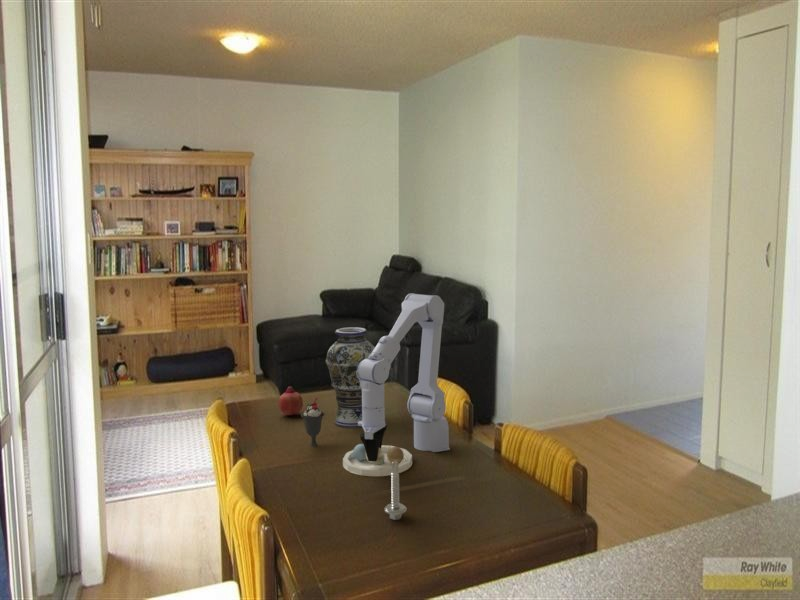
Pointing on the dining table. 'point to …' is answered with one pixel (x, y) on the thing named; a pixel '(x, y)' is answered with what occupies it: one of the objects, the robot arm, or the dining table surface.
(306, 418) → the sundae
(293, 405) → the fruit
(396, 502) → the screw
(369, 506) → the dining table surface
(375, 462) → the bead birch
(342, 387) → the vase
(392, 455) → the bead oak
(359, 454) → the bead blue
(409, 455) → the tray
